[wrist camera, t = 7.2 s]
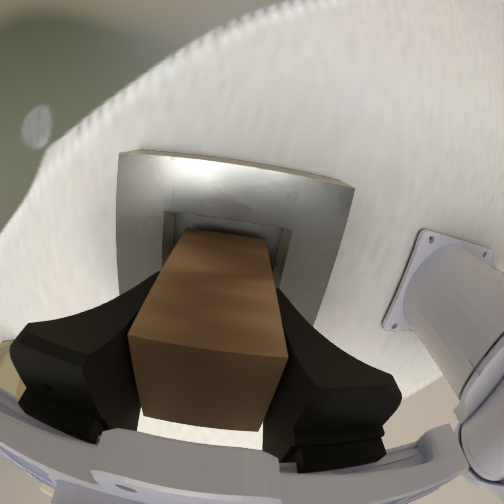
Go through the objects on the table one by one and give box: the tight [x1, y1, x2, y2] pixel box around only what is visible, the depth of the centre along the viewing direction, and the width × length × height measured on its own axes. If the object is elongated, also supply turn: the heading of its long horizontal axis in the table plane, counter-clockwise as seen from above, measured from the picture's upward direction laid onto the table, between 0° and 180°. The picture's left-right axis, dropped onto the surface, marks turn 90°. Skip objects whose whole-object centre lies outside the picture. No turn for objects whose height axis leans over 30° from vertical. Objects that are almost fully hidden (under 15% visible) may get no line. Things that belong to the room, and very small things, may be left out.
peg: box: [128, 228, 288, 432], centre depth 11 cm, size 4×4×8 cm
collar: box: [116, 150, 355, 326], centre depth 15 cm, size 11×11×2 cm
